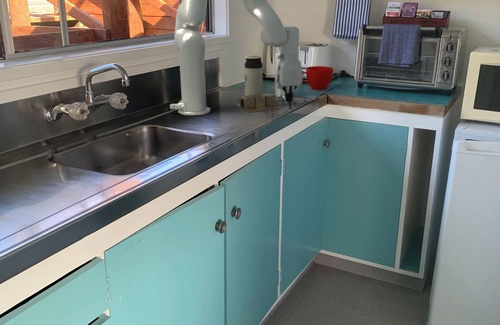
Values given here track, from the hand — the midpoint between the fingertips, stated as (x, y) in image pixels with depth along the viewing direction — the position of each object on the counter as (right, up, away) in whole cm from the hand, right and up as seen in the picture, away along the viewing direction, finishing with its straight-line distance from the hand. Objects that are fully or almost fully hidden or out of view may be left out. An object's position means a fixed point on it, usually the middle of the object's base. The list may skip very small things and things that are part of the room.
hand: (288, 101), depth 213 cm
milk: (-1, +4, +15) cm, 16 cm away
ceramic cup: (+15, +10, +31) cm, 36 cm away
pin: (-10, -3, -4) cm, 11 cm away
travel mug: (-15, +4, +15) cm, 22 cm away
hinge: (-13, -3, -5) cm, 15 cm away
